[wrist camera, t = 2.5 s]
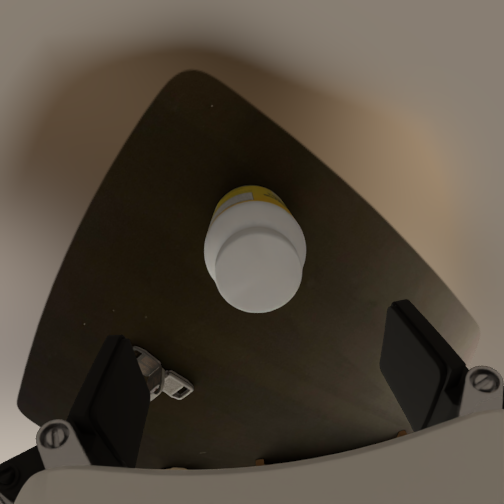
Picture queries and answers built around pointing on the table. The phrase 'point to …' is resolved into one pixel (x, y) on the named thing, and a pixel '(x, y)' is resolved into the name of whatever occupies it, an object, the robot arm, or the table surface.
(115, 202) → the table surface
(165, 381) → the strap clip
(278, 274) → the pill bottle
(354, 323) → the table surface
